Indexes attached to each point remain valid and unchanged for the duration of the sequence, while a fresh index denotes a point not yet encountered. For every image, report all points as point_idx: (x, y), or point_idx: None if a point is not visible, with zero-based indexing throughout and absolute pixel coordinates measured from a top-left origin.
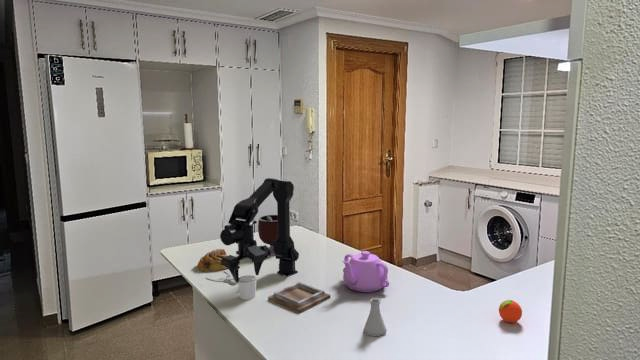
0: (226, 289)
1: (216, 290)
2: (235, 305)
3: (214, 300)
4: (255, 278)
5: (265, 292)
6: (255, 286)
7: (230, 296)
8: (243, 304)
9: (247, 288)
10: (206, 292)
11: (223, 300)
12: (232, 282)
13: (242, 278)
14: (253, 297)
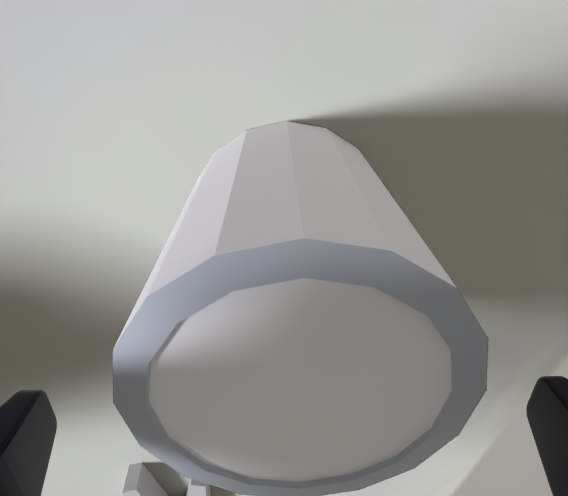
0: None
1: None
2: (561, 125)
3: (550, 358)
4: (166, 310)
5: (41, 146)
6: (214, 197)
7: None
8: (489, 69)
9: (393, 211)
10: (454, 483)
11: (511, 309)
12: (208, 494)
13: (343, 448)
14: (271, 126)
